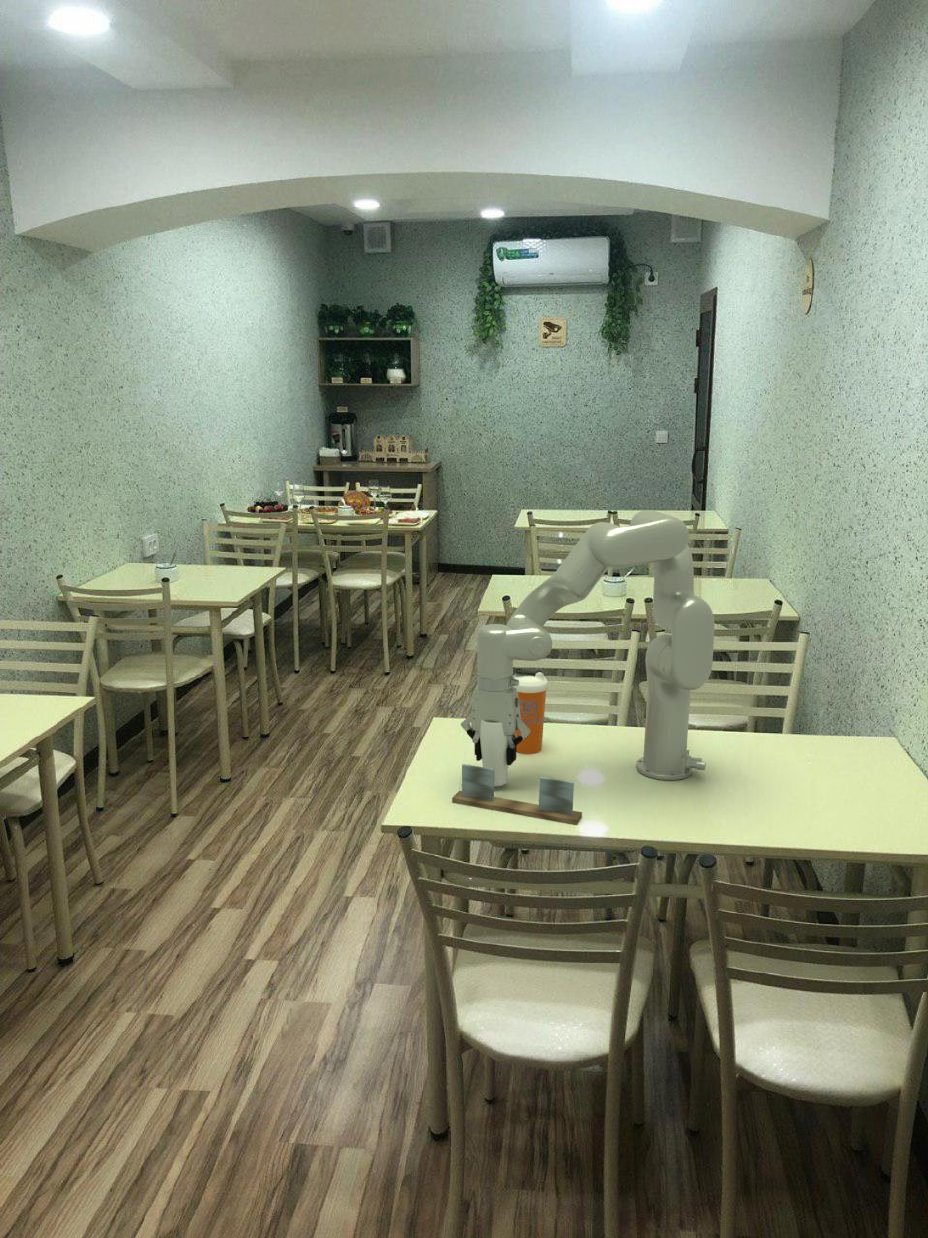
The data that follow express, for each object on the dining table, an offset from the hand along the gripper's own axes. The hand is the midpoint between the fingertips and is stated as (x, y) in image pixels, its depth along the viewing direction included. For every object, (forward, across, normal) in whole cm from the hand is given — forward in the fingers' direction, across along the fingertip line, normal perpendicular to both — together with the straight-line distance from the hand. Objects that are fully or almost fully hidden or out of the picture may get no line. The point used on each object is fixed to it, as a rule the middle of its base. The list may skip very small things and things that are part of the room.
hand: (495, 760), depth 204 cm
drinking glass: (+5, 0, 0) cm, 5 cm away
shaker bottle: (+7, 0, -24) cm, 24 cm away
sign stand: (+6, -8, +9) cm, 14 cm away
